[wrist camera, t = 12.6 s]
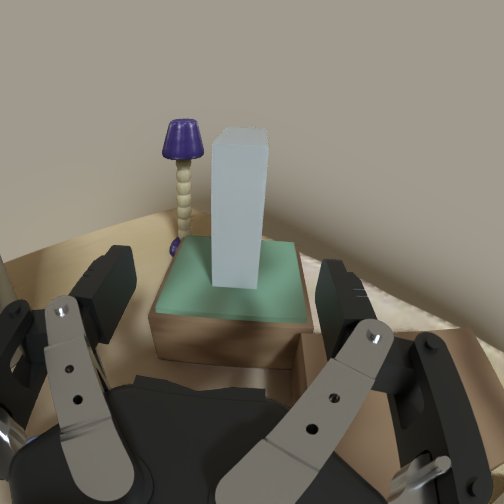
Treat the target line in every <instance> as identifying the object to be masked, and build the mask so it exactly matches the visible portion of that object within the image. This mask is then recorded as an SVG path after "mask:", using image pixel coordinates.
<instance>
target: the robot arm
mask: <svg viewBox="0 0 504 504" xmlns="http://www.w3.org/2000/svg"><path fill="white" fill-rule="evenodd" d="M136 283H137V277H136V271H135V266H134V260H133V254H132V249H131V247H130V246H122V245H113V246H112V247H111V248H110V249H109V250H108V252H107V253H106V254H105V256H101V257H99V258H98V259H96V260H95V261H93V262H92V264H91V265H90V266H89V268H88V269H87V270H86V272H85V273H84V274H83V277H81V278H80V280H79V281H78V282H77V284H76V285H75V286H74V288H73V289H72V291H71V292H70V293H69V295H68V296H60V297H57V298H55V299H53V300H52V301H51V302H49V304H48V305H47V306H46V308H45V309H42V310H31V308H30V306H29V304H28V302H27V301H25V300H18V298H17V296H16V294H15V291H14V289H13V287H12V284H11V282H10V279H9V277H8V274H7V272H6V269H5V267H4V264H3V261H2V259H1V256H0V480H6V481H8V482H9V485H10V490H11V497H12V504H487V503H488V501H489V500H490V498H491V495H492V492H493V481H492V476H491V472H490V468H489V463H488V459H487V456H486V452H485V448H484V445H483V441H482V438H481V434H480V431H479V428H478V425H477V422H476V419H475V416H474V413H473V410H472V407H471V404H470V401H469V399H468V396H467V393H466V391H465V388H464V385H463V383H462V380H461V378H460V375H459V373H458V371H457V368H456V366H455V363H454V361H453V359H452V356H451V354H450V352H449V350H448V348H447V345H446V343H445V342H444V341H443V339H442V338H440V337H439V336H438V335H436V334H434V333H431V332H421V333H419V334H418V335H417V336H416V338H415V339H414V341H412V340H407V339H403V338H398V337H395V336H394V334H393V332H392V330H391V328H390V327H389V326H388V325H386V324H385V323H383V322H382V321H379V320H377V317H376V315H375V312H374V310H373V308H372V305H371V303H370V300H369V298H368V297H367V293H366V291H365V290H364V287H363V284H362V282H361V280H360V279H359V278H358V277H357V276H356V275H355V274H354V273H353V272H347V271H346V269H345V267H344V264H343V262H342V260H336V259H323V261H322V264H321V268H320V273H319V277H318V282H317V286H316V291H315V304H316V309H317V313H318V318H319V322H320V327H321V332H322V337H323V342H324V347H325V352H326V357H327V362H328V363H327V364H326V365H325V367H324V368H323V369H322V371H321V372H320V373H319V375H318V376H317V377H316V378H315V380H314V381H313V382H312V384H311V385H310V386H309V387H308V389H307V390H306V391H305V392H304V394H303V395H302V396H301V397H300V399H299V400H298V401H297V402H296V403H295V405H294V406H293V407H292V408H291V409H290V408H289V407H287V406H285V405H283V404H281V403H279V402H277V401H274V400H271V399H268V398H265V389H257V388H238V387H230V388H222V389H215V390H206V391H195V390H192V389H189V388H186V387H183V386H181V385H178V384H175V383H172V382H170V381H167V380H163V379H156V378H150V377H144V376H138V375H136V378H135V381H134V384H128V385H122V386H118V387H115V388H113V389H111V387H110V384H109V382H108V379H107V377H106V374H105V371H104V369H103V366H102V363H101V360H100V357H99V354H98V352H97V349H96V346H97V344H98V343H103V344H109V342H110V340H111V338H112V336H113V334H114V331H115V329H116V327H117V325H118V323H119V321H120V319H121V317H122V315H123V313H124V311H125V309H126V307H127V305H128V303H129V301H130V299H131V297H132V295H133V293H134V291H135V288H136ZM17 362H18V363H17ZM16 363H17V365H16V367H15V369H14V371H13V373H12V372H11V369H10V368H12V367H13V366H14V365H15V364H16ZM47 373H48V378H49V383H50V388H51V393H52V397H53V402H54V406H55V410H56V414H57V418H58V422H59V423H58V424H57V425H55V426H54V427H52V428H51V429H49V430H48V431H46V432H44V433H43V434H41V435H40V436H38V437H37V438H35V439H34V440H32V441H30V442H29V443H26V434H25V429H26V426H27V423H28V420H29V418H30V415H31V412H32V410H33V407H34V405H35V402H36V399H37V397H38V395H39V392H40V390H41V387H42V385H43V383H44V380H45V378H46V376H47ZM370 390H374V391H379V392H384V393H386V394H387V399H388V403H389V408H390V413H391V417H392V422H393V427H394V433H395V438H396V444H397V449H398V456H399V462H400V468H401V469H400V470H398V471H397V472H396V473H395V475H394V476H393V478H392V481H391V490H390V494H389V497H388V498H387V500H386V499H385V498H384V496H383V495H382V494H381V493H380V492H379V491H377V490H376V489H375V488H374V487H373V486H372V485H371V484H369V483H368V482H367V481H366V480H365V479H364V478H363V477H362V476H361V475H359V474H358V473H357V472H356V471H355V470H354V469H353V468H352V467H351V466H350V465H349V464H348V463H347V462H345V461H344V460H343V459H342V458H341V457H340V456H339V455H338V454H337V453H336V452H335V451H334V449H335V448H336V446H337V445H338V443H339V442H340V440H341V439H342V437H343V435H344V434H345V432H346V431H347V429H348V428H349V426H350V424H351V423H352V421H353V419H354V418H355V416H356V414H357V413H358V411H359V409H360V407H361V406H362V404H363V402H364V400H365V399H366V397H367V395H368V393H369V391H370Z"/></svg>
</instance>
